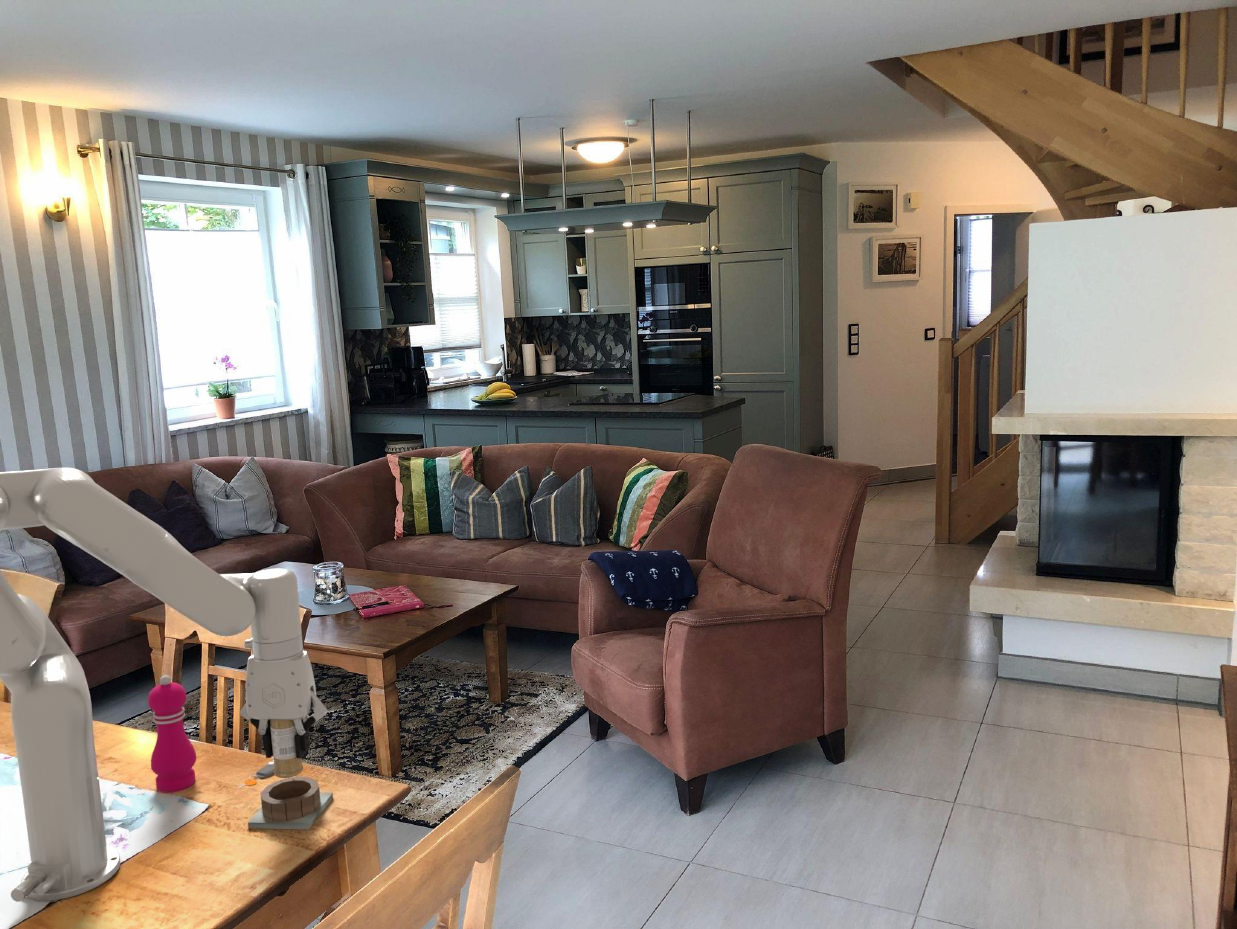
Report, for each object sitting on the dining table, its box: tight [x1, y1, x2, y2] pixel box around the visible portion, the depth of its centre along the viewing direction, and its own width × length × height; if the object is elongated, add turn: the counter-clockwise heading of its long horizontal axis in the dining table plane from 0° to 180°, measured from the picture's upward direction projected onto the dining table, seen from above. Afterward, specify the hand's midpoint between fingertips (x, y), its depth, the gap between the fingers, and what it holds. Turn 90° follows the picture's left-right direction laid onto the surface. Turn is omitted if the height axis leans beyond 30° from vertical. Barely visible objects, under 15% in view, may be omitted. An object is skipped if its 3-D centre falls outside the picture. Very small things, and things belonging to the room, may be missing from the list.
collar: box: [247, 776, 334, 830], centre depth 155 cm, size 10×10×4 cm
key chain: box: [236, 759, 275, 789], centre depth 168 cm, size 13×4×2 cm, turn 157°
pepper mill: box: [147, 674, 197, 793], centre depth 165 cm, size 7×7×20 cm
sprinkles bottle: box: [270, 720, 304, 779], centre depth 153 cm, size 5×5×13 cm
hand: (287, 753), depth 154 cm, fingers closed on sprinkles bottle, 4 cm apart
